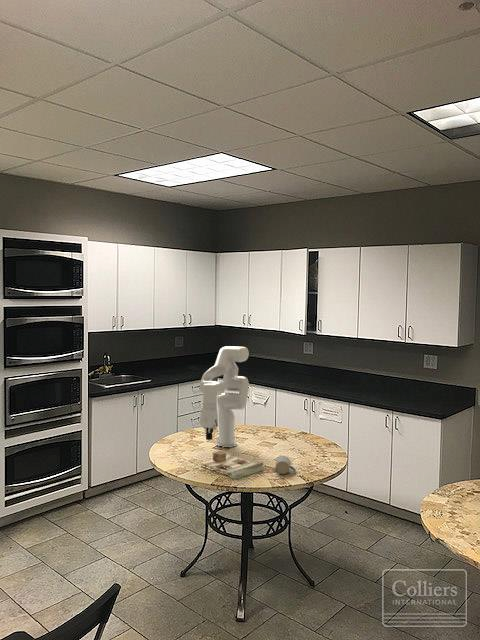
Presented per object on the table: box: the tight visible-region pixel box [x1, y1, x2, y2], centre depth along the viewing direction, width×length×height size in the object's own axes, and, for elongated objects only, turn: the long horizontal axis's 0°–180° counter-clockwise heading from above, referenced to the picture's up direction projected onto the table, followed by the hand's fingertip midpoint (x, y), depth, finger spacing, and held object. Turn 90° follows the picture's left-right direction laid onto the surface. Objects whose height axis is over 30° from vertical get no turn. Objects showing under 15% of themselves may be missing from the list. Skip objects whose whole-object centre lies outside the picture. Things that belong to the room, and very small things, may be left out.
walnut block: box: [212, 450, 227, 462], centre depth 285 cm, size 5×5×4 cm
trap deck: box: [200, 454, 264, 479], centre depth 278 cm, size 26×20×4 cm
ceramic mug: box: [275, 455, 297, 475], centre depth 272 cm, size 11×8×8 cm
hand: (209, 439), depth 289 cm, fingers closed
